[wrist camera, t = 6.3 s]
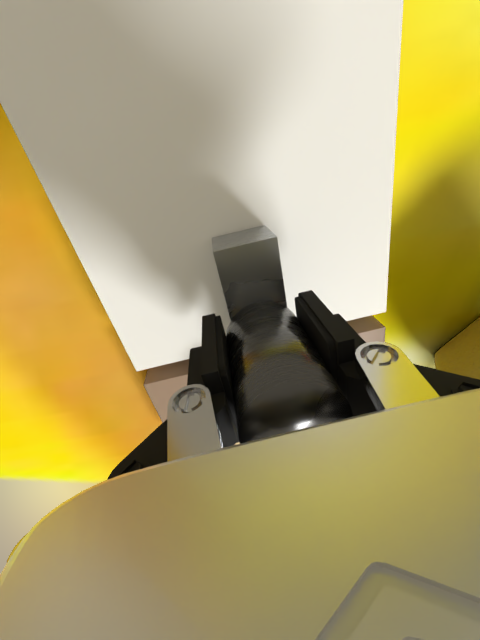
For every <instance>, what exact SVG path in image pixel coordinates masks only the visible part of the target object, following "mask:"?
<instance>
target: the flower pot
mask: <svg viewBox="0 0 480 640" xmlns="http://www.w3.org/2000/svg"><path fill="white" fill-rule="evenodd" d="M434 357H435V366H436V369H437V370H441V371H445V372H450V373H454V374H458V375H462V376H467V377H471V378H475V379H479V380H480V317H479V318H478V319H476V320H475V321H474V322H473V323H471V324H470V325H469V326H468V327H467V328H465V329H464V330H463V331H462V332H460V333H459V334H458V335H457V336H455V337H454V338H453V339H452V340H450V341H449V342H448V343H447V344H445V345H444V346H443V347H442V348H441V349H439V350H438V351H437V352H436V353H435V356H434Z"/></svg>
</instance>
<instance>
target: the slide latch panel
mask: <svg viewBox="0 0 480 640" xmlns="http://www.w3.org/2000/svg"><path fill="white" fill-rule="evenodd" d="M402 14H403V0H0V103H1V105H2V107H3V109H4V111H5V113H6V115H7V117H8V119H9V121H10V123H11V125H12V127H13V129H14V131H15V133H16V135H17V137H18V139H19V141H20V143H21V145H22V147H23V149H24V151H25V152H26V154H27V156H28V158H29V160H30V162H31V164H32V166H33V168H34V170H35V172H36V174H37V176H38V178H39V180H40V182H41V184H42V186H43V188H44V190H45V192H46V194H47V196H48V198H49V200H50V202H51V204H52V206H53V208H54V210H55V212H56V214H57V216H58V217H59V219H60V221H61V223H62V225H63V227H64V229H65V231H66V233H67V235H68V237H69V239H70V241H71V243H72V245H73V247H74V249H75V251H76V253H77V255H78V257H79V259H80V261H81V263H82V265H83V267H84V269H85V271H86V273H87V275H88V277H89V279H90V281H91V282H92V284H93V286H94V288H95V290H96V292H97V294H98V296H99V298H100V300H101V302H102V304H103V306H104V308H105V310H106V312H107V314H108V316H109V318H110V320H111V322H112V324H113V326H114V328H115V330H116V332H117V334H118V336H119V338H120V340H121V342H122V344H123V346H124V347H125V349H126V351H127V353H128V355H129V357H130V359H131V361H132V363H133V365H134V367H135V369H136V371H141V370H145V369H148V371H147V374H146V378H145V381H144V387H145V389H146V391H147V393H148V395H149V397H150V399H151V401H152V403H153V405H154V407H155V409H156V411H157V412H158V414H159V416H160V418H161V420H162V422H164V421H165V420H167V406H168V402H169V400H170V398H171V396H172V395H173V394H174V393H175V392H177V391H178V390H179V389H181V388H183V387H185V386H187V379H188V367H189V355H190V349H192V348H196V347H200V346H202V316H205V315H209V314H214V313H215V315H216V316H219V315H220V316H221V320H222V323H223V327H224V330H225V334H227V329H228V326H229V323H230V322H231V319H230V316H229V312H228V308H227V304H226V300H225V297H224V293H223V289H222V285H221V281H220V277H219V274H218V270H217V266H216V262H215V258H214V255H213V248H212V238H213V237H217V236H221V235H225V234H230V233H234V232H238V231H242V230H246V229H250V228H254V227H259V226H263V225H265V226H266V227H267V228H269V229H270V230H271V231H272V232H273V233H274V234H275V235H276V236H277V239H278V246H279V253H280V260H281V267H282V274H283V281H284V288H285V295H286V302H287V308H289V309H290V310H291V311H292V312H293V313H294V314H295V316H296V308H295V297H298V294H299V293H301V292H305V291H309V290H312V291H313V292H314V293H315V294H316V295H317V296H318V298H319V299H320V300H321V301H322V302H323V303H324V304H325V306H326V307H327V308H328V309H329V310H330V311H331V312H332V314H333V315H334V314H340V315H341V316H342V317H343V318H344V319H345V320H346V322H347V323H348V324H349V325H350V326H351V327H352V328H353V329H354V330H355V331H356V332H357V333H358V335H359V336H360V337H361V338H362V339H363V340H364V341H365V342H366V343H368V342H376V341H378V342H384V341H385V326H383V325H382V324H381V323H380V322H379V321H378V320H377V319H375V318H374V317H373V316H372V315H375V314H379V313H383V312H386V305H387V287H388V268H389V250H390V232H391V214H392V196H393V178H394V159H395V141H396V123H397V105H398V87H399V69H400V51H401V32H402ZM296 317H297V316H296ZM237 444H240V442H239V443H235V444H234V445H237Z"/></svg>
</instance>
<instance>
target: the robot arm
mask: <svg viewBox="0 0 480 640" xmlns="http://www.w3.org/2000/svg"><path fill="white" fill-rule="evenodd" d="M295 308H296V316H297V319H298V321H299V322H300V324H301V326H302V327H303V329H304V331H305V332H306V334H307V335H308V337H309V339H310V340H311V342H312V344H313V345H314V347H315V348H316V350H317V352H318V353H319V355H320V357H321V358H322V360H323V361H324V363H325V365H326V366H327V368H328V370H329V371H330V373H331V374H332V376H333V378H334V379H335V381H336V383H337V384H338V386H339V388H340V389H341V391H342V392H343V394H344V396H345V397H346V399H347V401H348V402H349V404H350V406H351V409H352V415H353V417H350V418H346V419H342V420H338V421H333V422H329V423H325V424H321V425H316V426H312V427H308V428H304V429H300V430H295V431H291V432H287V433H283V434H279V435H274V436H270V437H266V438H262V439H258V440H254V441H250V442H245V443H241V444H237V445H234V444H235V443H239V437H238V428H237V420H236V412H235V404H234V395H233V387H232V379H231V371H230V363H229V355H228V347H227V339H226V334H225V330H224V327H223V323H222V320H221V316H220V315H219V316H216V315H215V313H214V314H209V315H205V316H202V346H200V347H196V348H192V349H190V355H189V367H188V379H187V386H185V387H183V388H181V389H179V390H178V391H177V392H175V393H174V394H173V395H172V396H171V398H170V400H169V402H168V406H167V420H165V421H164V422H163V423H162V424H161V425H160V426H159V427H158V428H157V429H156V430H155V431H154V432H153V433H151V434H150V435H149V436H148V437H147V438H146V439H145V440H144V441H143V442H142V443H141V444H140V445H139V446H137V447H136V448H135V449H134V450H133V451H132V452H131V453H130V454H129V455H128V456H127V457H126V458H125V459H123V460H122V461H121V462H120V463H119V464H118V465H117V466H116V467H115V469H114V470H113V471H112V472H111V474H110V476H109V477H108V480H106V481H103V482H101V483H99V484H97V485H94V486H92V487H90V488H88V489H86V490H84V491H82V492H80V493H79V494H77V495H75V496H74V497H72V498H70V499H68V500H67V501H65V502H63V503H62V504H60V505H59V506H58V507H56V508H55V509H53V510H52V511H51V512H50V513H48V514H47V515H46V516H44V517H43V518H42V519H41V520H40V521H39V522H38V523H37V524H36V525H35V526H34V527H33V528H32V529H31V530H30V531H29V533H27V534H26V535H25V536H24V537H23V538H22V539H21V540H20V541H19V543H18V544H17V545H16V546H15V547H14V549H13V550H12V552H11V554H10V556H9V558H8V560H7V564H6V566H5V568H4V569H3V571H2V573H1V574H0V640H480V380H479V379H475V378H471V377H467V376H462V375H458V374H454V373H450V372H445V371H441V370H437V369H432V368H428V367H424V366H420V365H415V364H412V362H411V361H410V360H409V359H408V358H407V356H406V355H405V354H404V353H403V352H402V350H400V349H399V348H398V347H396V346H394V345H392V344H390V343H386V342H378V341H376V342H368V343H366V342H365V341H364V340H363V339H362V338H361V337H360V336H359V335H358V333H357V332H356V331H355V330H354V329H353V328H352V327H351V326H350V325H349V324H348V323H347V322H346V320H345V319H344V318H343V317H342V316H341V315H340V314H334V315H333V314H332V312H331V311H330V310H329V309H328V308H327V307H326V306H325V304H324V303H323V302H322V301H321V300H320V299H319V298H318V296H317V295H316V294H315V293H314V292H313V291H312V290H309V291H305V292H301V293H299V294H298V297H295Z"/></svg>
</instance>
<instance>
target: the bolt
mask: <svg viewBox="0 0 480 640" xmlns="http://www.w3.org/2000/svg"><path fill="white" fill-rule="evenodd" d="M212 248H213V255H214V258H215V262H216V266H217V270H218V274H219V277H220V281H221V285H222V289H223V293H224V297H225V300H226V304H227V308H228V312H229V316H230V319H231V322H230V323H229V326H228V329H227V334H226V339H227V347H228V355H229V363H230V371H231V379H232V387H233V395H234V404H235V412H236V420H237V428H238V437H239V442H240V444H241V443H245V442H250V441H254V440H258V439H262V438H266V437H270V436H274V435H279V434H283V433H287V432H291V431H295V430H300V429H304V428H308V427H312V426H316V425H321V424H325V423H329V422H333V421H338V420H342V419H346V418H350V417H353V415H352V409H351V406H350V404H349V402H348V401H347V399H346V397H345V396H344V394H343V392H342V391H341V389H340V388H339V386H338V384H337V383H336V381H335V379H334V378H333V376H332V374H331V373H330V371H329V370H328V368H327V366H326V365H325V363H324V361H323V360H322V358H321V357H320V355H319V353H318V352H317V350H316V348H315V347H314V345H313V344H312V342H311V340H310V339H309V337H308V335H307V334H306V332H305V331H304V329H303V327H302V326H301V324H300V322H299V321H298V319H297V317H296V316H295V314H294V313H293V312H292V311H291V310H290V309H289V308H287V302H286V295H285V288H284V281H283V274H282V267H281V260H280V253H279V246H278V239H277V236H276V235H275V234H274V233H273V232H272V231H271V230H270V229H269V228H267V227H266V226H265V225H263V226H259V227H254V228H250V229H246V230H242V231H238V232H234V233H230V234H225V235H221V236H217V237H213V238H212Z"/></svg>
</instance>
